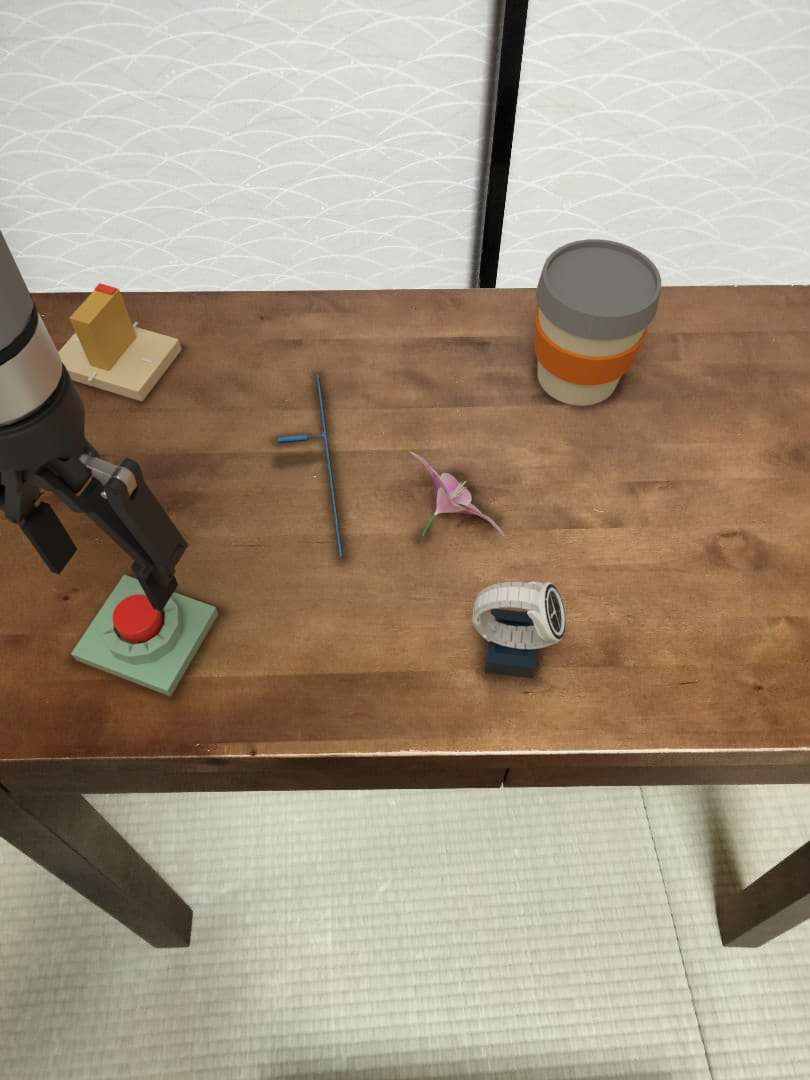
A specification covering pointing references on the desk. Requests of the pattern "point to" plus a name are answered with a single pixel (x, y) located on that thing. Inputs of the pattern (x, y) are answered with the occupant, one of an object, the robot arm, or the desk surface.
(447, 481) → the lily
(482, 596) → the watch
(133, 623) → the bell button
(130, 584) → the green button mount
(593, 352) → the reusable coffee cup
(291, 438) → the blue squeegee
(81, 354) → the plate
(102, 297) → the thumbturn
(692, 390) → the desk surface
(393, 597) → the desk surface
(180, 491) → the desk surface
